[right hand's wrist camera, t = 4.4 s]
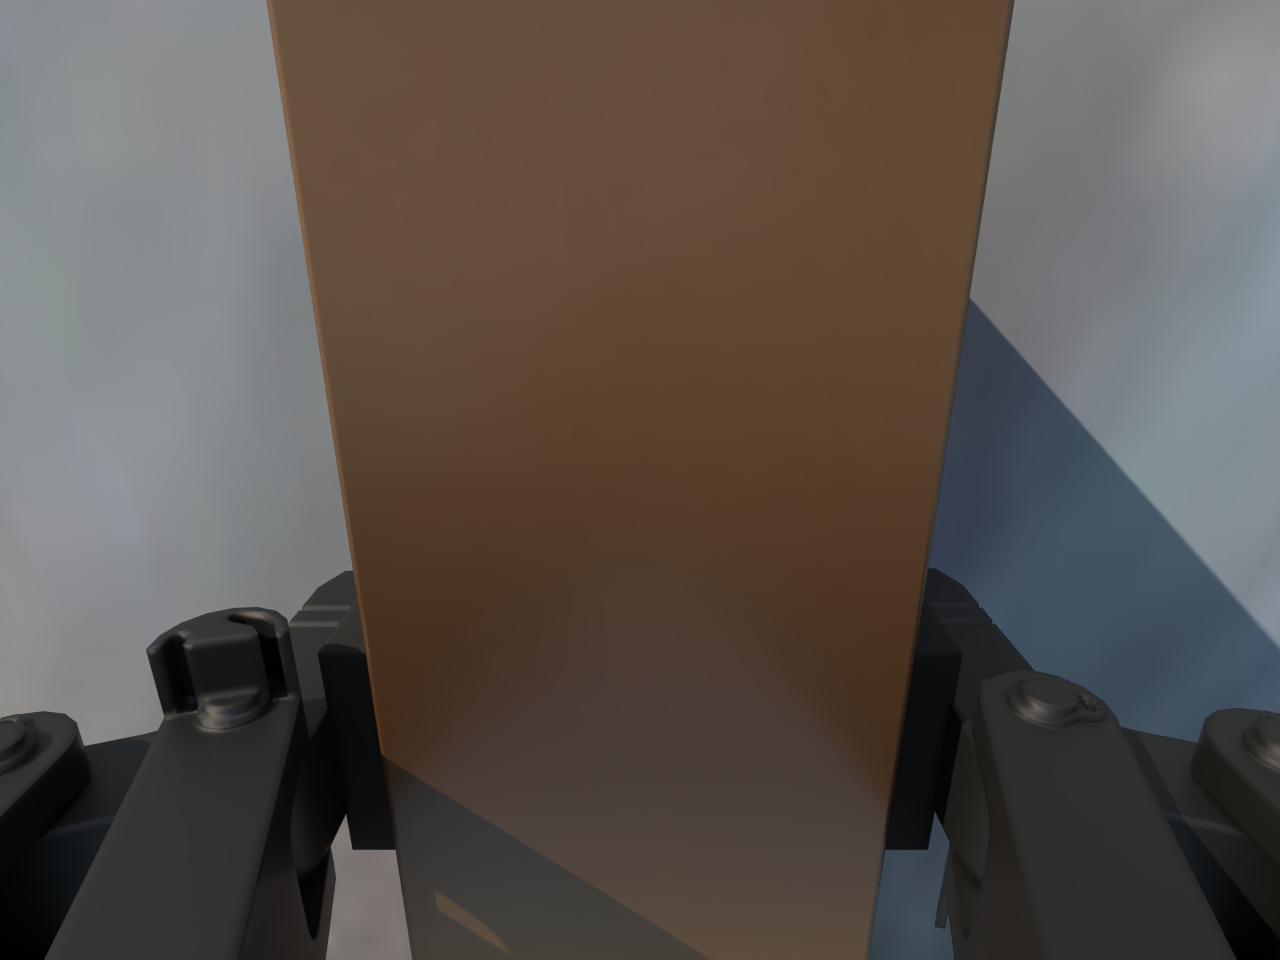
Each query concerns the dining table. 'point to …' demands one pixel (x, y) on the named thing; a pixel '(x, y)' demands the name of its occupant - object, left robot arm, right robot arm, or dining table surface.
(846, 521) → the bar
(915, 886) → the dining table surface
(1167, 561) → the dining table surface
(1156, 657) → the dining table surface
